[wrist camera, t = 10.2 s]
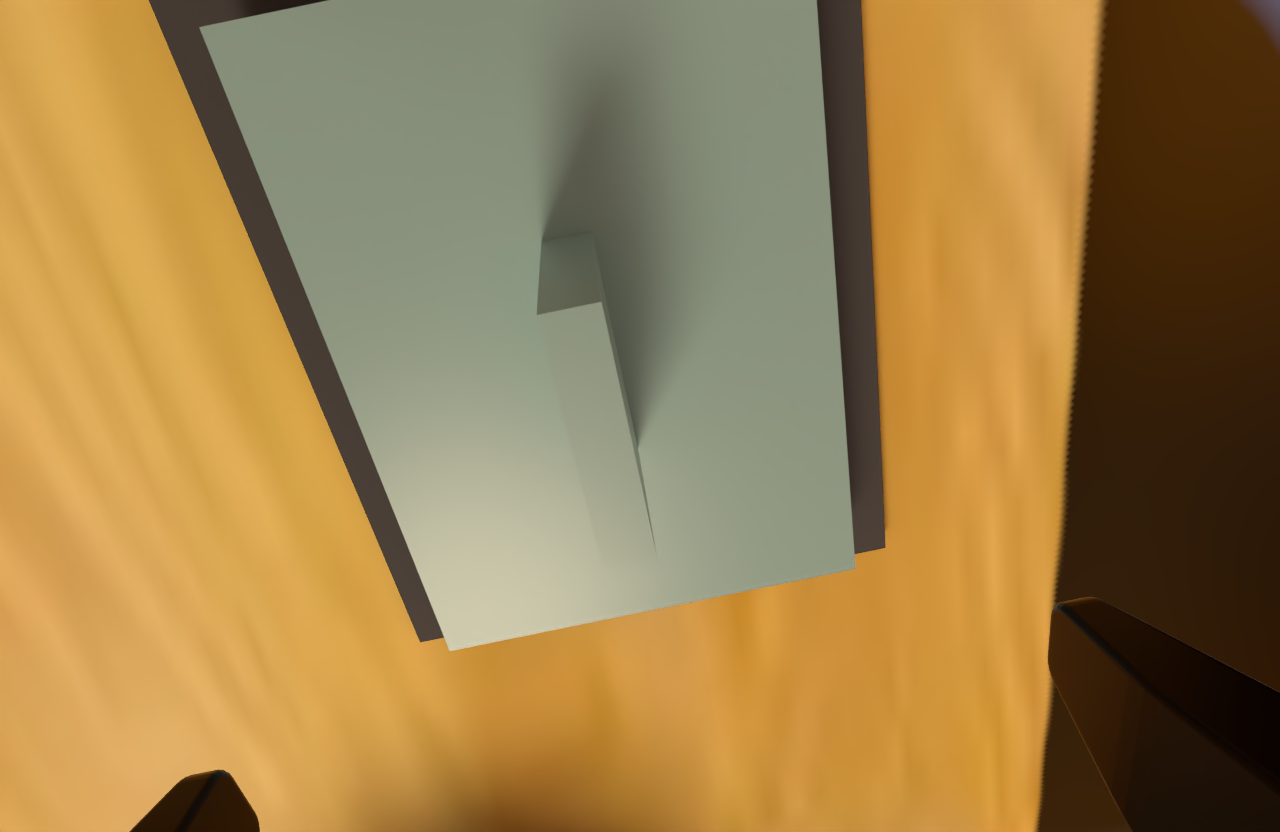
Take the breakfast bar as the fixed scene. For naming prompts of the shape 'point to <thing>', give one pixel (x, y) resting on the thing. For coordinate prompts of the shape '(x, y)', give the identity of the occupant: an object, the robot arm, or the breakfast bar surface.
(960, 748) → the breakfast bar surface
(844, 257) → the mat
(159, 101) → the breakfast bar surface
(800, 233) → the lid
